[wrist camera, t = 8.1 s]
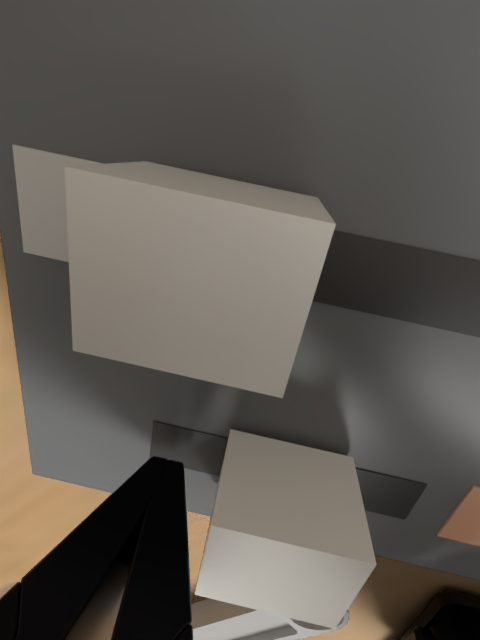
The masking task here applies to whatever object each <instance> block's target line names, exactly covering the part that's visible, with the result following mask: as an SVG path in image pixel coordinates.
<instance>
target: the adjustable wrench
mask: <svg viewBox="0 0 480 640" xmlns="http://www.w3.org/2000/svg"><path fill="white" fill-rule="evenodd" d="M191 607H192V624H191V625H192V626H193V640H297V639H301V638H306V637H310V636H315V635H319V634H324V633H328V632H333V631H336V630H339V629H341V628H343V627H344V626H345V625H347V623H348V621H349V612H348V610H347V611H346V613H345V614H344V616H343V618H342V619H341V621H340V622H339V624H338V625H337V627H336V628H335V629H333V628H329V627H325V626H321V625H316V624H312V623H308V622H304V621H300V620H296V619H292V618H288V617H284V616H280V615H276V614H272V613H267V612H263V611H259V610H255V609H251V608H247V607H243V606H239V605H235V604H231V603H227V602H222V601H218V600H214V599H210V598H208V599H205V600H202V601H199V602H196V603H193V604H191ZM113 630H114V629H113ZM113 630H112V632H111V635H110V637H109V639H108V640H111V637H112V633H113Z"/></svg>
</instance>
